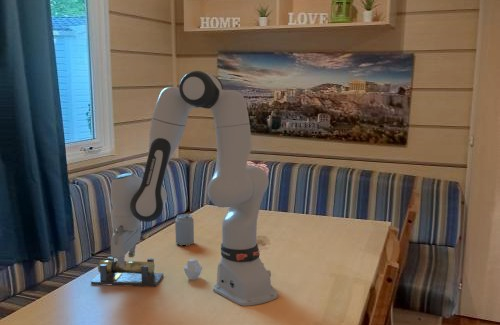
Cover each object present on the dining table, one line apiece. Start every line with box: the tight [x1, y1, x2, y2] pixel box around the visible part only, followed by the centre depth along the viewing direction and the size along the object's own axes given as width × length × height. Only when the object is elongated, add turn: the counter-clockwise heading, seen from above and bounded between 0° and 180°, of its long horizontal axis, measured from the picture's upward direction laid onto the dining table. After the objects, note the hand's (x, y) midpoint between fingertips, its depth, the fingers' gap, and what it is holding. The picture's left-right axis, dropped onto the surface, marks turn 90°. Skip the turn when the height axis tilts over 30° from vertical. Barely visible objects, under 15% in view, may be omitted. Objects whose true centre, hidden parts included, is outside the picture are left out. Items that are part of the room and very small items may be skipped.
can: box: [174, 213, 195, 246], centre depth 205 cm, size 8×8×12 cm
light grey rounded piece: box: [183, 258, 203, 281], centre depth 170 cm, size 6×6×7 cm
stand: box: [90, 256, 164, 288], centre depth 168 cm, size 22×9×6 cm, turn 85°
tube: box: [97, 259, 156, 274], centre depth 167 cm, size 18×4×4 cm, turn 85°
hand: (127, 261), depth 167 cm, fingers open, 8 cm apart
